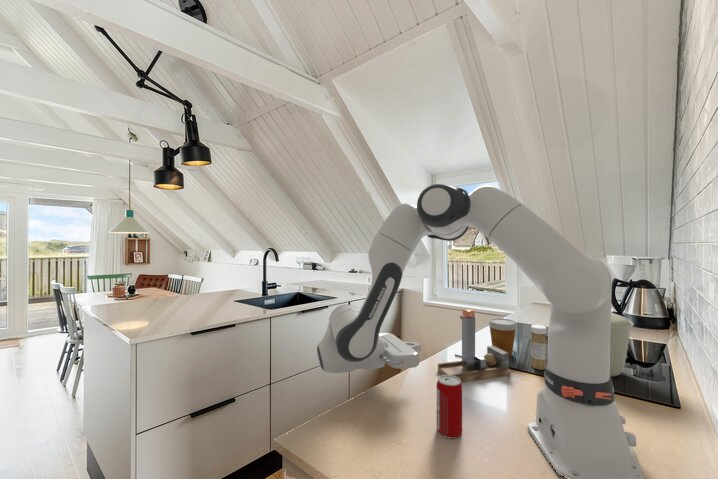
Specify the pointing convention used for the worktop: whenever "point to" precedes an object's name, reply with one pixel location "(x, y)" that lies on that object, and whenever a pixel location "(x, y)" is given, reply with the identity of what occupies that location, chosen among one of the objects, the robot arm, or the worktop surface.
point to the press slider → (470, 343)
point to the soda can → (449, 406)
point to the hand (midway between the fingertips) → (419, 346)
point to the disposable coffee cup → (503, 334)
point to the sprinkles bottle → (538, 346)
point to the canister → (618, 343)
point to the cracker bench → (494, 368)
